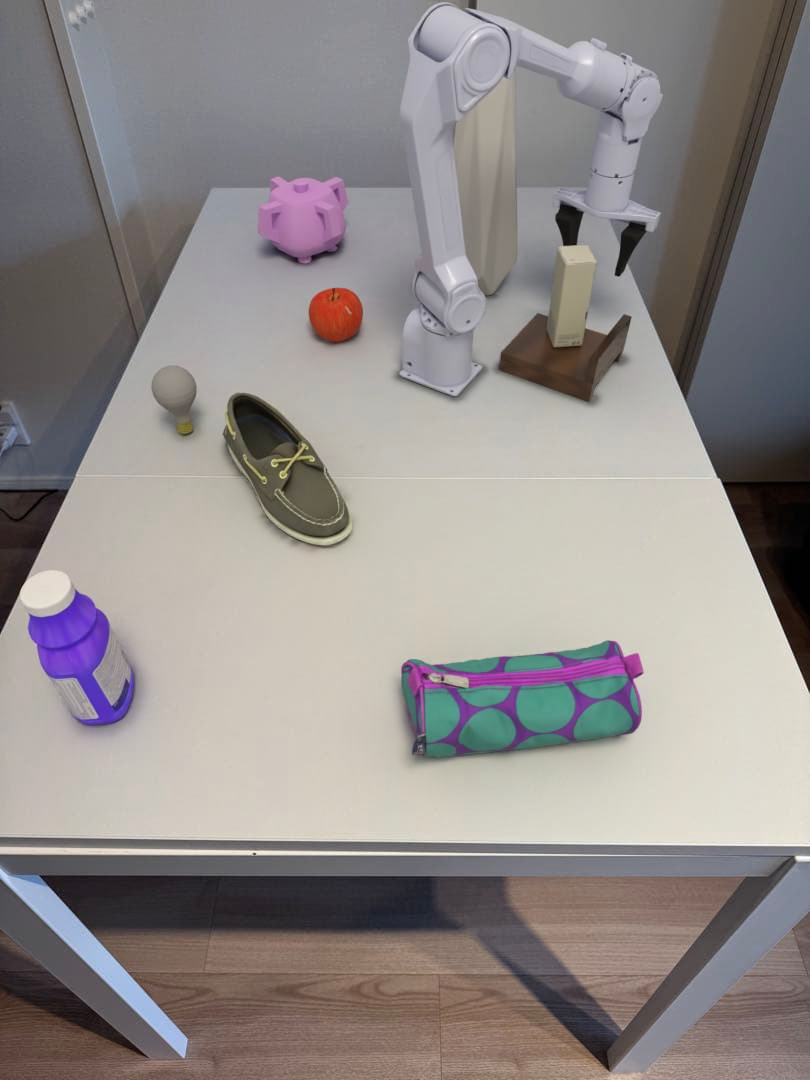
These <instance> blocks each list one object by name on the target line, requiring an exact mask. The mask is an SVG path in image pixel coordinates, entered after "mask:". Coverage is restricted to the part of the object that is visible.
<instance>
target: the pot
mask: <svg viewBox="0 0 810 1080" xmlns="http://www.w3.org/2000/svg"><path fill="white" fill-rule="evenodd" d="M269 187H270V191H269V192H270V194H269V197H268V200H267V203H265V204H261V205H258V207H257V208H258V210H257V211H258V215H257V234H258V235H260V236H261V237H263V238H265V239H268V240H269V241H270V242H271V244H272V245H273V246H274V247H275V248H276V249H278V250H279V251H281V252H283V253H285V254H287V255H289V256H291V257H294V258H297V261H298V263H301V264H307V263H310V262H311V261H312V256H314V255H318V254H321V253H323V252H328V253H329V252H330V253H331V252H335V251H337V250H338V246H337V245H338V244H339V243H341V241H342V240H343V238H344V236H345V233H346V229H347V228H346V227H347V226H346V220H345V216H344V211H345V209H346V208H347V207H348V205H349V204H350V203H349V199H348V194H347V190H346V186H345V183H344V180H343V179H342V178H340V177H338V176H334V177H333V178H330V179H328V180H326V181H323V182H322V181H319V180H317V179H314V178H312V177H299V178H295V179H293V180H291V181H287V180H285V179H284V178H282V177H281V176H275V177H273V178H270V179H269Z"/></svg>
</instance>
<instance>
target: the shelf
mask: <svg viewBox="0 0 810 1080" xmlns="http://www.w3.org/2000/svg"><path fill="white" fill-rule="evenodd" d="M632 317H633V316H631V315H629V314H625V313H623V314H622V316H621V317H620V318H619V319H618V320H617V322H616V323H615V325H614V326H613V327H612V328H611V329H610V331H609V332H608V333H607V334H605V333H602V332H598V331H596V330H593V329H589V328H586V327H585V332H584V337H583V343H582V345H581V346H569V347H553V345H552V343H551V340H550V338H549V335H548V332H547V322H548V315H546V314H543V313H539V312H536V314H535V315H534V316H533V317H532V318H531V319H530V321H529V322H528V323H527V324H525V326H524V327H523V328H522V329H521V330H520V331H519V332H518V333H517V335H515V337H514V338H513V339H512V340H511V341H510V342H509V343H508V344H507V345H506V346H505V347H504V348H503V349H502V350H501V352H500V355H499V357H500V358H499V369H498V370H499V371H501V372H504V373H507V374H509V375H512V376H515V377H518V378H520V379H523V380H526V381H529V382H532V383H534V384H538V385H540V386H542V387H543V386H544V387H546V388H549V389H551V390H554V391H557V392H560V393H563V394H566V395H569V396H571V397H574V398H577V399H580V400H583V401H585V402H587V403H589V402H590V401H591V400H592V399H593V396H594V392H595V387H596V385H597V384H598V383H599V382H600V380H601V378H602V377H603V376H604V374H605V373H606V372H607V370H608V369H610V366H611V365H612V364H613V363H614V362H617V363H619V362H620V361H621V360H622V358H623V354H624V350H625V346H626V341H627V337H628V333H629V330H630V325H631V323H632Z"/></svg>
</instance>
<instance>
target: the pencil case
mask: <svg viewBox="0 0 810 1080" xmlns="http://www.w3.org/2000/svg"><path fill="white" fill-rule="evenodd" d="M400 672H401V677H400V679H401V690H402V694H403V700H404V702H405V707H406V712H407V716H408V719H409V721H410V725H411V726H412V729H413V730H414V732H415V735H416V738H415V739H414V741H413V744H412V749H411V750H412V751H411V755H412V756H421V755H423V756H424V757H425V758H427V757H434V758H446V757H455V756H463V755H464V756H465V755H473V754H484V753H493V752H499V751H509V750H520V749H529V748H530V749H531V748H532V749H533V748H539V747H544V746H554V745H560V744H567V743H575V742H579V741H587V740H596V739H597V740H598V739H602V738H606V737H620V736H625V735H626V736H627V735H631V734H634V733H635V732H636V731H637V730H638V729H639V727H640V725H641V723H642V718H643V707H642V706H643V705H642V699H641V695H640V692H639V689H638V687H637V685H636V683H635V679H637V678H638V677H641V676H642V675H644V673H645V672H644V668H643V663H642V661H641V656H640V654H639V653H637V652H636V653H632V654H628V655H624V652H623V650H622V647H621V645H620V643H618V641H616V640H609V639H608V640H604V641H602V642H601V643H598V644H593V645H591V646H588V647H580V648H576V649H567V650H562V651H551V652H550V651H549V652H543V653H535V654H534V653H533V654H525V655H513V656H511V655H510V656H507V655H505V656H504V655H503V656H493V657H486V658H481V659H469V660H466V661H457V662H451V663H444V664H443V663H439V664H438V663H437V664H430V663H427V662H425V661H423V660H421V659H418V658H409V659H407V660H406V661H404V662H403V663H402V665H401V668H400Z"/></svg>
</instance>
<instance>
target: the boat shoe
mask: <svg viewBox="0 0 810 1080" xmlns="http://www.w3.org/2000/svg"><path fill="white" fill-rule="evenodd" d="M224 412H225V413H224V416H225V417H224V418H225V422H226V426H225V427H224V429H223V432H222V436H223V439H224V441H225V442H226V445H227V448H228V451H229V455H230V456H231V458H232V460H233V462H234V463H235V465H236V466H237V468H238V469H239V470H240V472H241V473H242V474H243V475H244V477H246V478H247V481H249V483H250V485H251V486H252V488H253V490H254V492H255V494H256V497H257V499H258V502H259V504H260V506H261V508H262V510H263V512H264V513H265V515H266V517H267V518H268V519H269V520H270V521H271V523H273V524H274V525H275V526H276V527H277V528H279V529H280V530H281V531H283V532H284V533H286V534H287V535H289V536H291V537H293V538H294V539H297V540H298V541H302V542H305V543H308V544H311V545H316V546H329V545H333V544H336V543H339V542H341V541H343V540H344V539H346V538H347V537H348V536H350V534H351V533H352V531H353V528H354V520H353V515H352V512H351V510H350V507H349V505H348V504H347V502H346V500H345V499H344V497H343V495H342V494H341V493H340V491H339V488H338V486H337V484H336V483H335V482H334V480H333V478H332V477H331V475H330V474H329V472H328V468H327V465H325V464H324V462H323V461H322V460H321V459H320V457H319V455H318V454H317V452H316V449H315V448H314V446H313V444H311V442H310V441H309V440H308V439H307V438H306V437H305V436H303V434H302V433H301V432H300V431H299V430H298V429H297V428H296V427H295V426H294V425H293V424H292V423H291V422H290V420H289V419H288V418H286V417H285V415H283V414H282V412H281V411H280V410H279V409H278V408H276V407H275V406H273V405H272V404H271V403H269V402H268V401H267V400H265V399H264V398H260V397H259V396H257V395H255V394H251V393H248V392H235V393H234V394H232V395H231V396H230V397H229V399H228V401H227V405H226V410H225V411H224Z"/></svg>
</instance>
